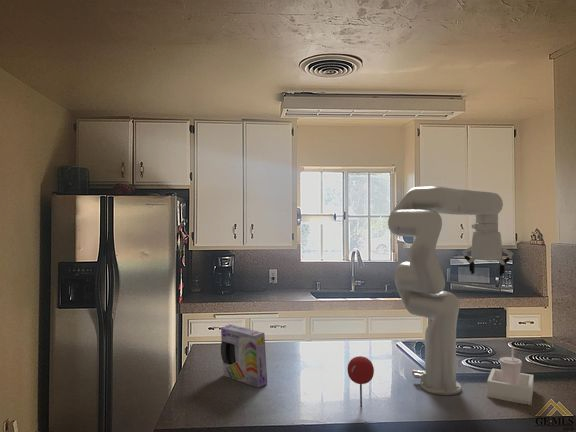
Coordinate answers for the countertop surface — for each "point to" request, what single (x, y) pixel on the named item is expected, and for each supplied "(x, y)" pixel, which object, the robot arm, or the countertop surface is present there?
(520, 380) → the box
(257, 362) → the cake pan box
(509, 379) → the smoothie
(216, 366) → the countertop surface
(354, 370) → the lollipop
